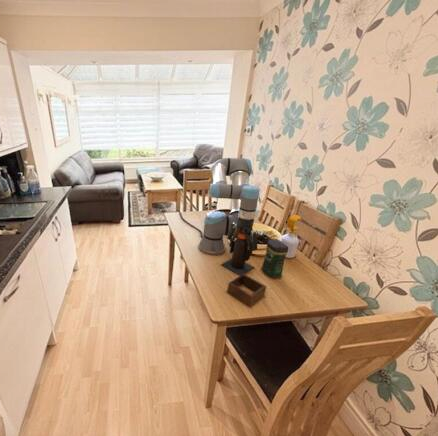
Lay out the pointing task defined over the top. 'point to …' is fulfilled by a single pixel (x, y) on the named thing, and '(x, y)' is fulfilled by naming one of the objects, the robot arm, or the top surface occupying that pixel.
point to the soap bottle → (291, 237)
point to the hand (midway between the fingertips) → (239, 255)
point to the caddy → (249, 283)
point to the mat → (237, 271)
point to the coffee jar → (274, 258)
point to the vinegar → (239, 252)
